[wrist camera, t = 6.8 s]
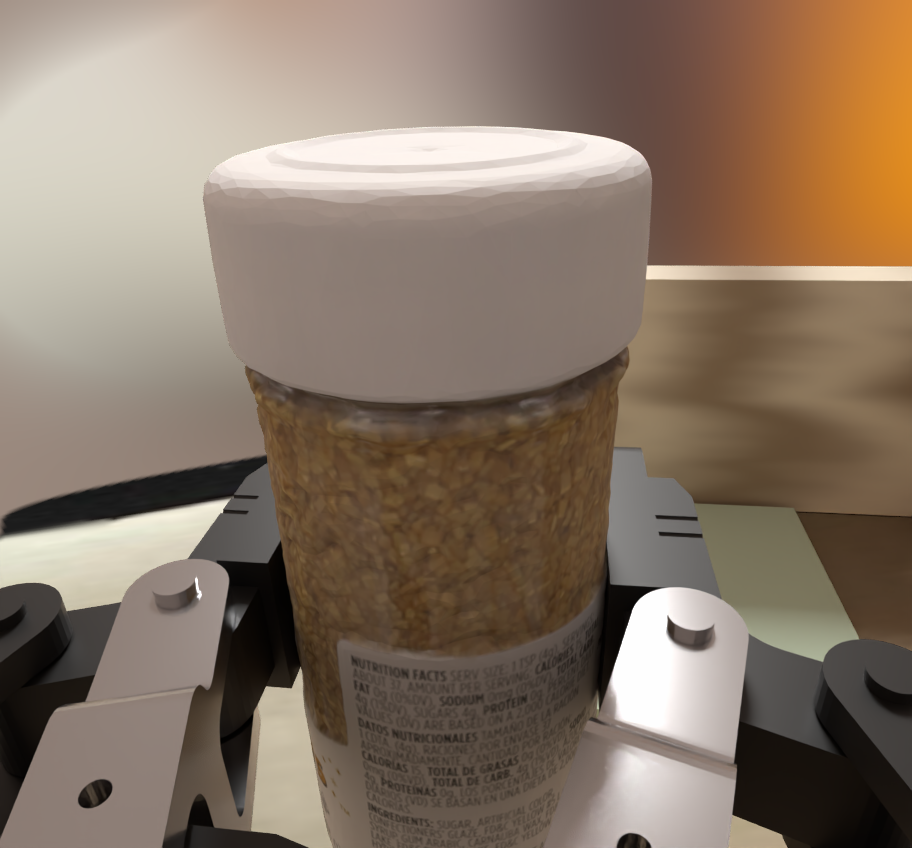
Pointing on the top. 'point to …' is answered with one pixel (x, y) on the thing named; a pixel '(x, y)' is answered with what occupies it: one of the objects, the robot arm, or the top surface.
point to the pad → (774, 578)
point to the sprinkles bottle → (438, 452)
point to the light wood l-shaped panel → (775, 386)
